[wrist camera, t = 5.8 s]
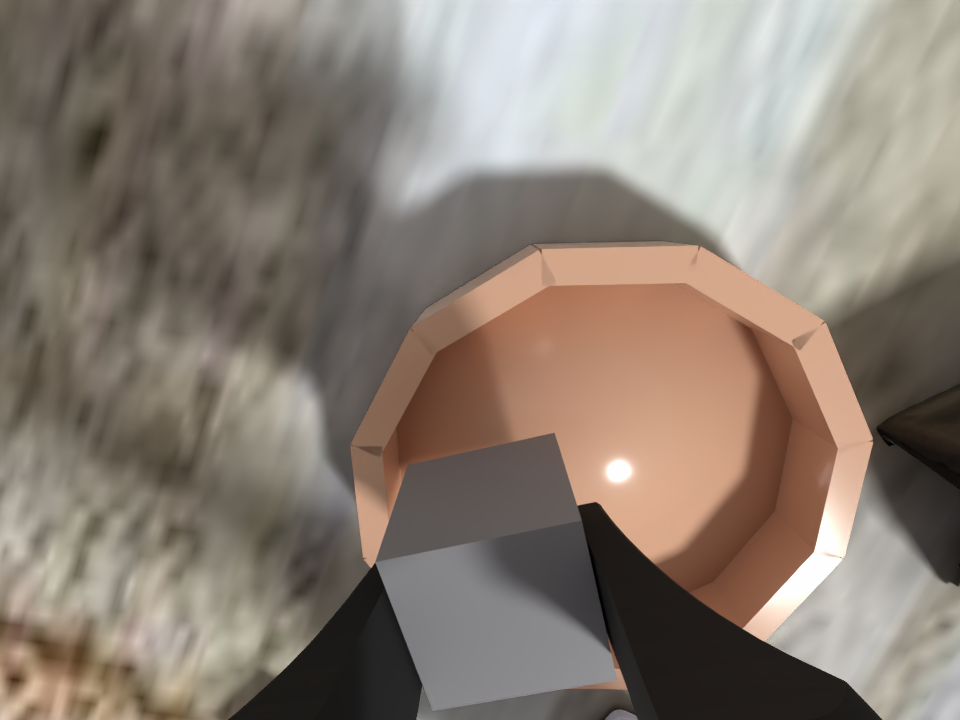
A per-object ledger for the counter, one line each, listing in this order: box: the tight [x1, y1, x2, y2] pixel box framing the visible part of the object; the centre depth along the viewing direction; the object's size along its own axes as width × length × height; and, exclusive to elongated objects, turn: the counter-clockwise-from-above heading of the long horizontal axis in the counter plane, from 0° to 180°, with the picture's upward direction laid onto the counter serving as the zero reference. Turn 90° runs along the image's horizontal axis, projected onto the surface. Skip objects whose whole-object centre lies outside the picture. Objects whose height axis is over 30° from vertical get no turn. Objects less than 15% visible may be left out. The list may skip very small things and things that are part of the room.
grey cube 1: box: [375, 433, 617, 711], centre depth 12 cm, size 4×4×4 cm
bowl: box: [350, 241, 873, 689], centre depth 16 cm, size 16×16×3 cm
